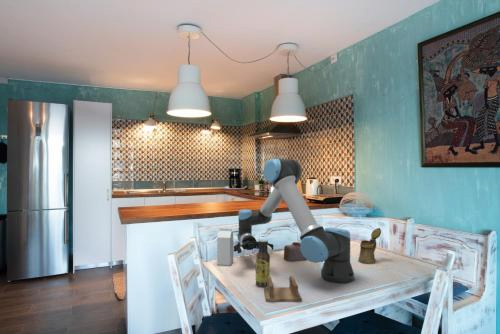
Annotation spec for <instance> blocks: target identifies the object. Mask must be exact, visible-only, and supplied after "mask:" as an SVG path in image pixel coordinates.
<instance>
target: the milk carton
mask: <svg viewBox="0 0 500 334" xmlns="http://www.w3.org/2000/svg"><path fill="white" fill-rule="evenodd" d="M216 237H217V238H216V241H217V242H216V243H217V245H216V249H217V251H216V253H217V255H216V256H217V259H216V261H217V266H226V267H227V266H231V265H232V264H233V263H234V233H233V229H232V228H218V233H217V236H216Z"/></svg>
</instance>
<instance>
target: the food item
mask: <svg viewBox="0 0 500 334" xmlns="http://www.w3.org/2000/svg"><path fill="white" fill-rule="evenodd" d="M300 243H301V242H297V241H296V242H295V241H294V242H292V243H291V244H287V245H286V244H285V246H284V247H283V251H284V252H283V260H284V261H286V262H288V263H289V262H295V261H296V262H300V261H303V260H307V259H306V258H305V257H304V256H303V255H302V253H301V250H300V247H301V245H300Z"/></svg>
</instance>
